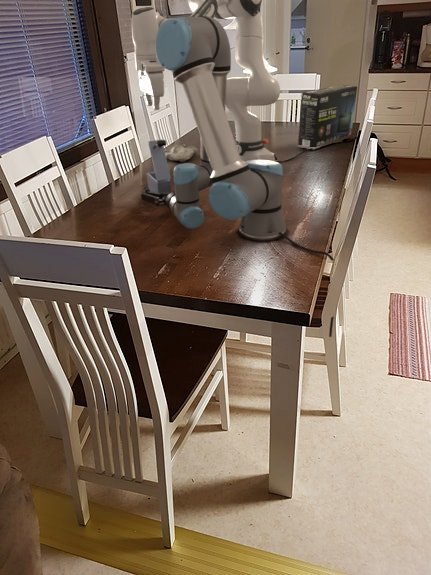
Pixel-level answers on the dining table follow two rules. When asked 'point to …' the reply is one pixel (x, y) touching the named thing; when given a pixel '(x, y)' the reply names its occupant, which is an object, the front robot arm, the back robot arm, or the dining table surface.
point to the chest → (158, 184)
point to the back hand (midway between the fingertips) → (153, 107)
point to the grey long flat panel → (159, 159)
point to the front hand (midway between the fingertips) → (162, 185)
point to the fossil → (181, 152)
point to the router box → (326, 115)
